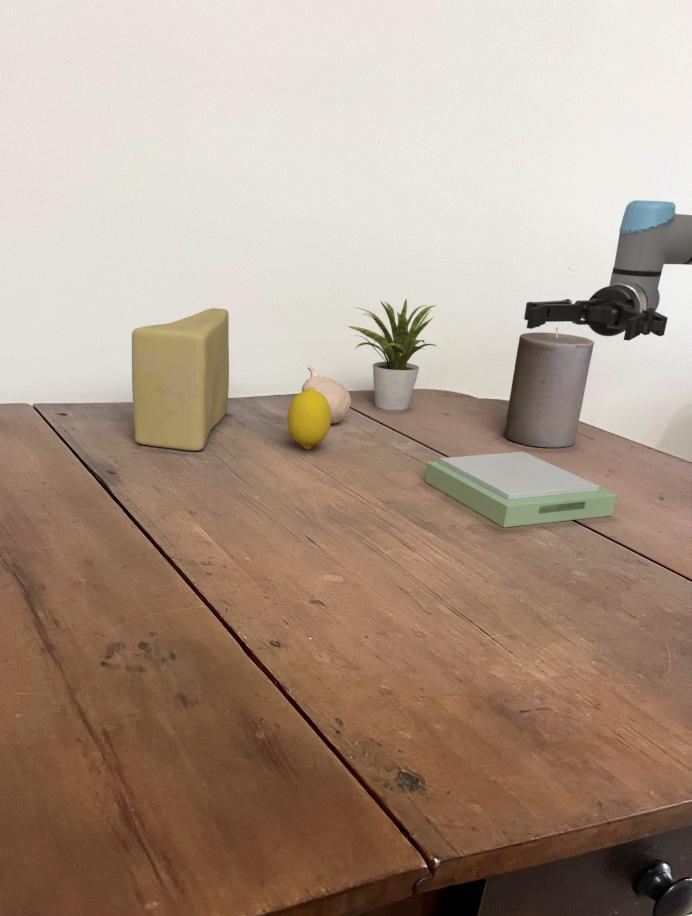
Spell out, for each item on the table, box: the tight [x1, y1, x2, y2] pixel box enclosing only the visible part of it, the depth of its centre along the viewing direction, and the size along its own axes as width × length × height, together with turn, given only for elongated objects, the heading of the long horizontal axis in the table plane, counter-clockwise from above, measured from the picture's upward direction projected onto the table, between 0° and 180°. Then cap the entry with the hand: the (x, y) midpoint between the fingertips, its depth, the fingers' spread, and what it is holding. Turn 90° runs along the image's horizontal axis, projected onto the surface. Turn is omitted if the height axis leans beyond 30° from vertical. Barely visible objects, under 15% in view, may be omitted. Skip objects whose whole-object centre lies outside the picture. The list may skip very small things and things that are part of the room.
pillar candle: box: [502, 327, 595, 449], centre depth 125 cm, size 10×10×15 cm
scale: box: [424, 451, 618, 528], centre depth 103 cm, size 16×14×3 cm
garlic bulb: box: [301, 364, 352, 424], centre depth 130 cm, size 7×6×8 cm
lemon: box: [286, 388, 332, 450], centre depth 117 cm, size 6×6×8 cm
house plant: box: [347, 298, 439, 411], centre depth 140 cm, size 14×14×16 cm
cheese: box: [131, 307, 230, 452], centre depth 123 cm, size 22×10×15 cm, turn 162°
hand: (578, 324), depth 129 cm, fingers open, 13 cm apart
